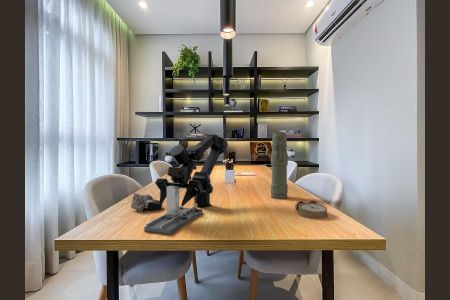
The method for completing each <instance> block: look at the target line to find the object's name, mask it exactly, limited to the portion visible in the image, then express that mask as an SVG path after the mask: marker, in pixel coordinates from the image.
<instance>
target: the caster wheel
mask: <svg viewBox="0 0 450 300" xmlns="http://www.w3.org/2000/svg"><path fill="white" fill-rule="evenodd" d="M163 203H164V202H163ZM163 203H162V204H160V200H158V199H154V198H153V196H152V195H150V194H147V193H146V194H145V193H144V194H140V193H137V192H134V193H133V197H132V201H131V205H130V208H131V209H134V210H136V211H138V212H141V213H143V210H144V209H150V210H154V211H155V210H158V211H159V210H162V207H163Z"/></svg>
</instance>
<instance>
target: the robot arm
mask: <svg viewBox="0 0 450 300" xmlns="http://www.w3.org/2000/svg"><path fill="white" fill-rule="evenodd" d="M228 147H229V142H228V141H227V140H226V139H225V138H223V137H220V136H219V135H218V134H216V133H215V134H206V137H204V138H203V139H201V141H199V142H198V143H197V144H196V145H191V146H189V147H185V145H184V143H178V144H177V145H175V146H174V147H172V148H171V149H170V152H169V154H170V155H171V157H172V158H173V160H174V161H175V162H176V164H177V165H179V166H169V167H168V170H167V173H166V174H167V176H168V177H170V180H171V181H169V180H168V178H162V177H159V178H156V181H155V182H154V184H155V185H156V187H157V188H158V190H159V192H160V193H159V201H160V204H162V203H164V202H165V200H166V199H167V187H168V186H179V189H185V193H184V195H183V198H182V201H181V204H180V206H183V207H184V206H185V205H186V204H187V203H189V202H190V201H191V200H192V199H193V198H194V200H193V201H194V202H193V206H194V204H195V203H197V208H199V209H200V208H201V209H202V208H207V207H211V206H212V203H211V198H210V197H211V196H210V194H212V193H213V192H214V187H213V185H212V184H211V174H212V172H213V170H214V168H215V166H216V164H217V162H218V159H219V157H220V155H222V154H224V153H225V152H226V150H227V149H228ZM209 148H210V152H209V153H208V155H207V158H206V160H205V162H204V163H203V166H202V168H201V169H200V171H196V170H197V166H196V163H195V162H200V161H201V160H202V159H203V157H204V156H205V154H204V153H205V152H206V151H208V149H209ZM194 170H195V172H194ZM193 172H194V174H193V176H192V173H193ZM162 205H163V204H162Z"/></svg>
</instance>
